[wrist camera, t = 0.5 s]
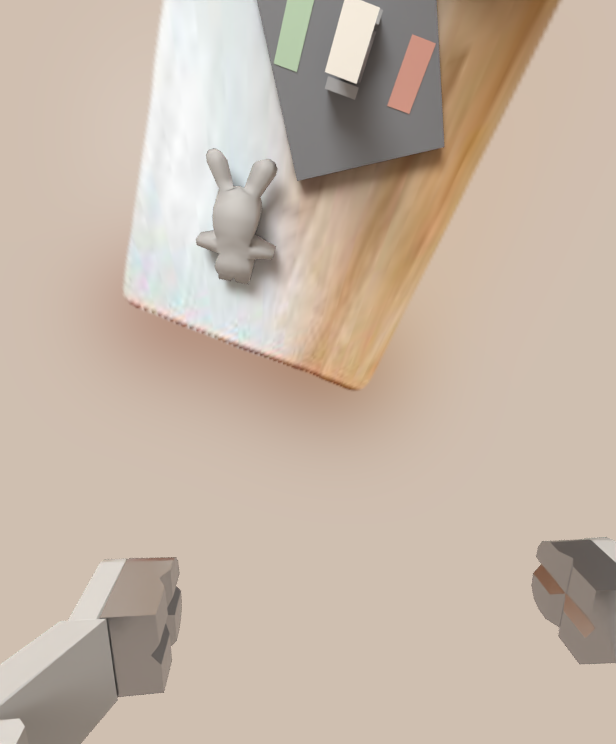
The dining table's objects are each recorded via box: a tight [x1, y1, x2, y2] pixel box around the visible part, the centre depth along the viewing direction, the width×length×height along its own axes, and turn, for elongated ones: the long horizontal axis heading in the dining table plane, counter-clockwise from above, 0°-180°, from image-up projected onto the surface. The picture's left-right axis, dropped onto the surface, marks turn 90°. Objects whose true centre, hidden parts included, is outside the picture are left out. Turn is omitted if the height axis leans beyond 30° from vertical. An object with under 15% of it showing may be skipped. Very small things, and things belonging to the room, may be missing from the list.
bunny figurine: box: [196, 148, 277, 284], centre depth 52 cm, size 10×5×15 cm
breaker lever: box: [325, 0, 380, 84], centre depth 36 cm, size 3×4×14 cm
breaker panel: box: [257, 0, 444, 181], centre depth 41 cm, size 20×16×6 cm
